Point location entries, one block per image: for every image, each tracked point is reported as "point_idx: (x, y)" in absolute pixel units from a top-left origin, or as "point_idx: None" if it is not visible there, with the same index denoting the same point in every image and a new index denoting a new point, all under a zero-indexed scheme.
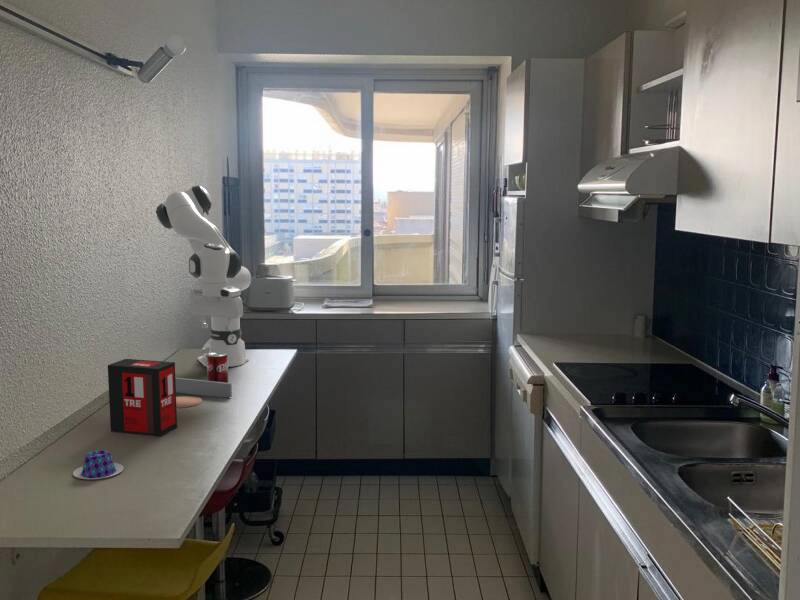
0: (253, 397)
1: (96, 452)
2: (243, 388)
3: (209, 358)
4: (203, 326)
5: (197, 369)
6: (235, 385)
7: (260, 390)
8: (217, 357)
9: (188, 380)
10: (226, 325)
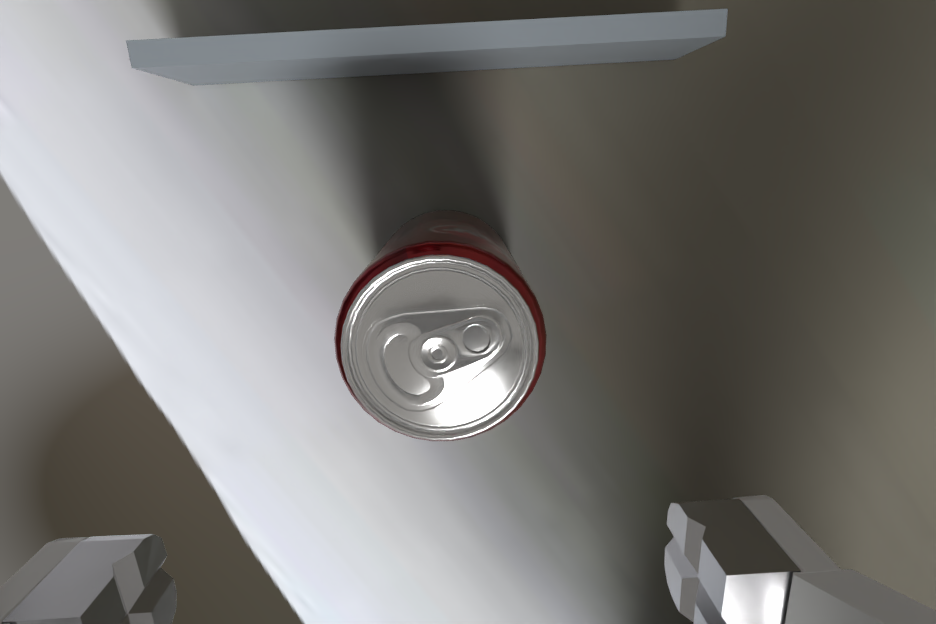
0: (75, 155)
1: None
2: (286, 317)
3: (462, 241)
4: (745, 521)
5: None
6: None
7: (161, 320)
8: (373, 267)
9: (537, 21)
10: (22, 617)
